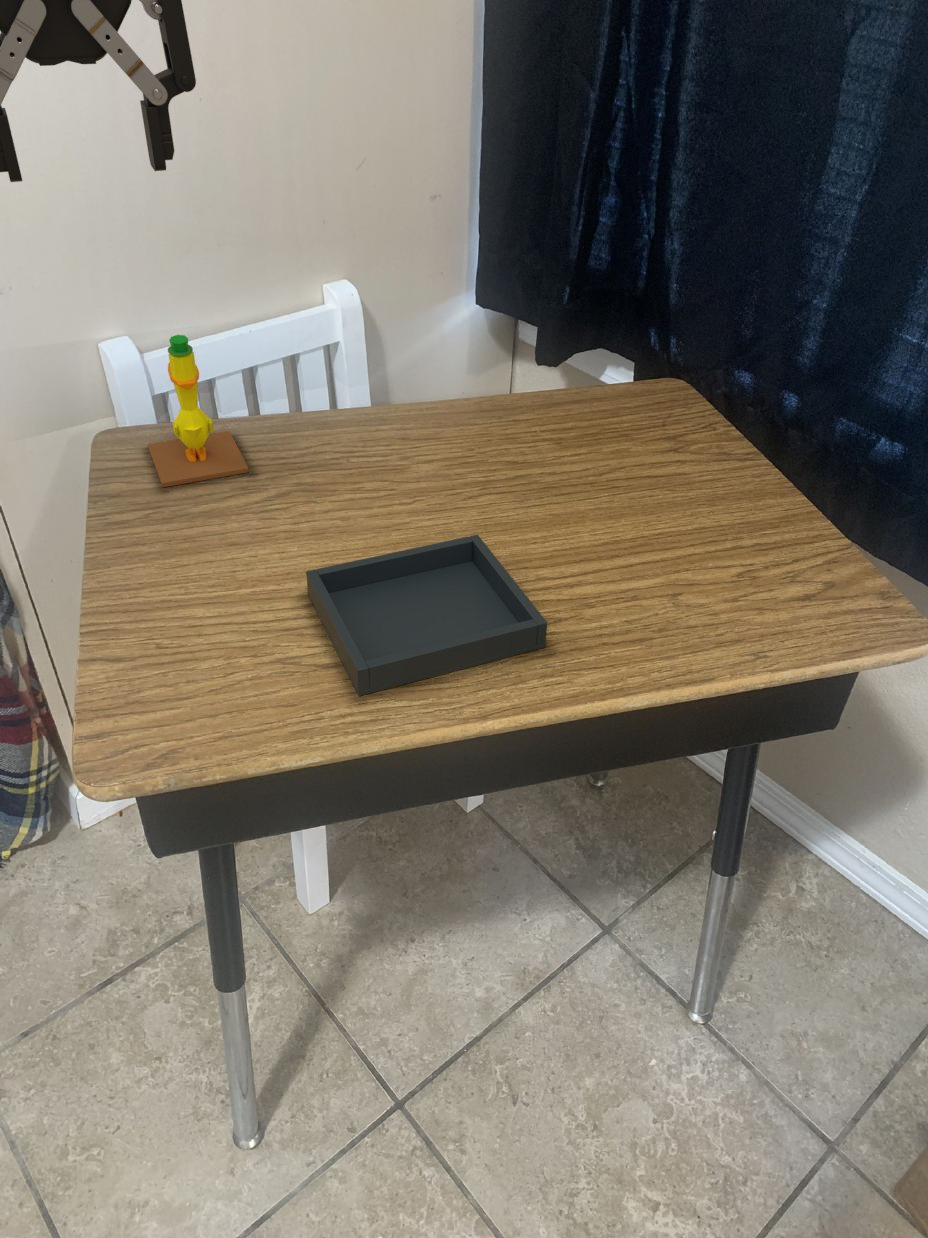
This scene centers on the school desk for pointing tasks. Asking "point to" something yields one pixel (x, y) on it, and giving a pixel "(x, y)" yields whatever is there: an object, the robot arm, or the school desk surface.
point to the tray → (423, 613)
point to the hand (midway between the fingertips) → (88, 173)
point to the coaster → (197, 460)
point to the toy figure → (188, 399)
